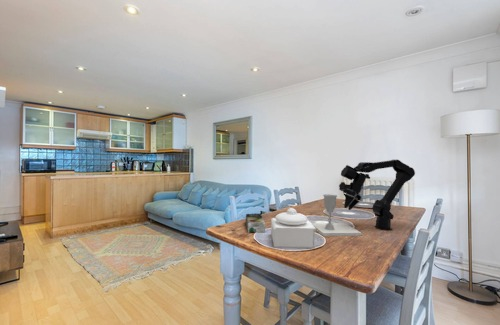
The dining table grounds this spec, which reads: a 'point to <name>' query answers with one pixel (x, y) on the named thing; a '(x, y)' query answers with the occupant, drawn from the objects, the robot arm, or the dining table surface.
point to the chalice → (329, 208)
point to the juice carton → (255, 223)
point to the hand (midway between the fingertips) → (347, 208)
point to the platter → (336, 230)
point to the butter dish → (292, 230)
